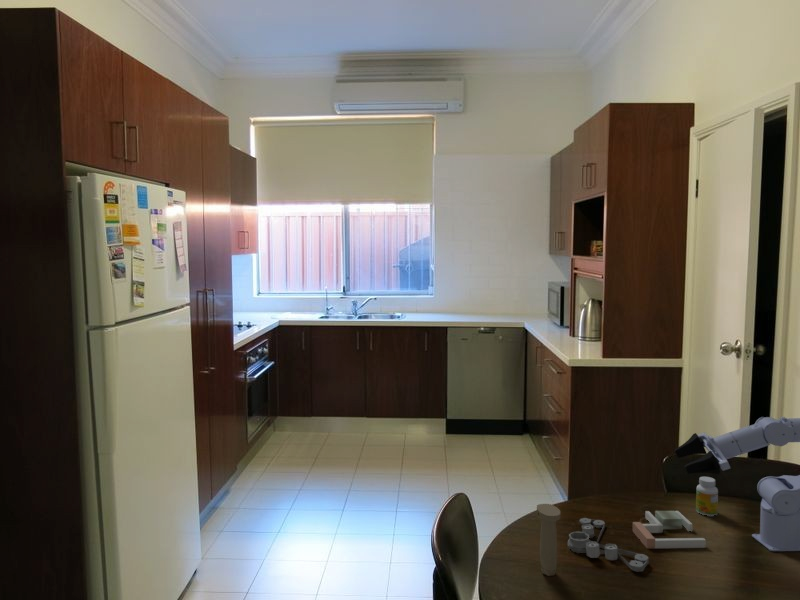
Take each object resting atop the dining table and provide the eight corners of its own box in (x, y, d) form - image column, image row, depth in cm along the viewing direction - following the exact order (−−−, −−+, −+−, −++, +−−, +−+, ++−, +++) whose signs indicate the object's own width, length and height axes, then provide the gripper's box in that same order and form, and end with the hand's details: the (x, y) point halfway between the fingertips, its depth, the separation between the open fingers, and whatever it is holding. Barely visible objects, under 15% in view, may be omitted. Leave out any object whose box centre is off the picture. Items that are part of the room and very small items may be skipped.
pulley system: (597, 583, 127) (658, 572, 130) (596, 563, 127) (656, 552, 130) (546, 531, 154) (597, 523, 157) (545, 514, 154) (596, 506, 157)
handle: (544, 581, 127) (544, 516, 126) (533, 566, 133) (532, 504, 132) (564, 579, 128) (564, 514, 127) (552, 564, 134) (552, 502, 133)
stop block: (640, 531, 150) (640, 522, 149) (655, 548, 141) (655, 538, 140) (632, 531, 150) (632, 522, 149) (646, 548, 141) (647, 538, 140)
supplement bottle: (691, 510, 161) (692, 476, 161) (706, 507, 163) (707, 474, 162) (706, 518, 156) (707, 483, 156) (722, 515, 158) (722, 481, 157)
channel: (677, 517, 157) (678, 510, 157) (709, 547, 140) (709, 539, 140) (629, 518, 157) (629, 511, 157) (655, 548, 141) (655, 540, 140)
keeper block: (673, 521, 155) (673, 510, 155) (681, 529, 150) (682, 519, 150) (654, 521, 155) (655, 510, 155) (662, 530, 150) (663, 519, 150)
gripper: (717, 416, 148) (666, 434, 151) (742, 444, 134) (685, 464, 138) (726, 439, 150) (675, 456, 153) (752, 469, 136) (695, 487, 139)
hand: (680, 461), depth 145 cm, fingers open, 7 cm apart
